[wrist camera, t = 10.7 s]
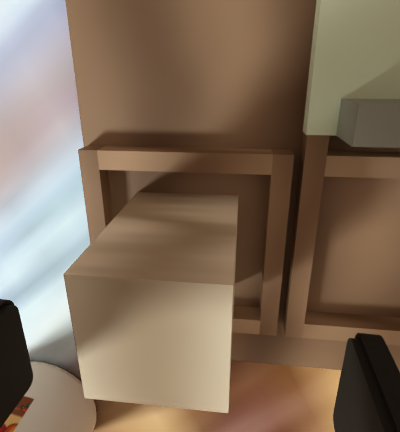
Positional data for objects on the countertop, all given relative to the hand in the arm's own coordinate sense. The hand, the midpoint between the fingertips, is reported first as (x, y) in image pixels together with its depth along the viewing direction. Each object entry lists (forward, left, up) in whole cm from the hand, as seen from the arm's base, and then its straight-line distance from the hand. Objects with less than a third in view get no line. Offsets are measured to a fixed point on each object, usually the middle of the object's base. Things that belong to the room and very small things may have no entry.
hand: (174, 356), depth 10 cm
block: (-1, 0, -7) cm, 7 cm away
